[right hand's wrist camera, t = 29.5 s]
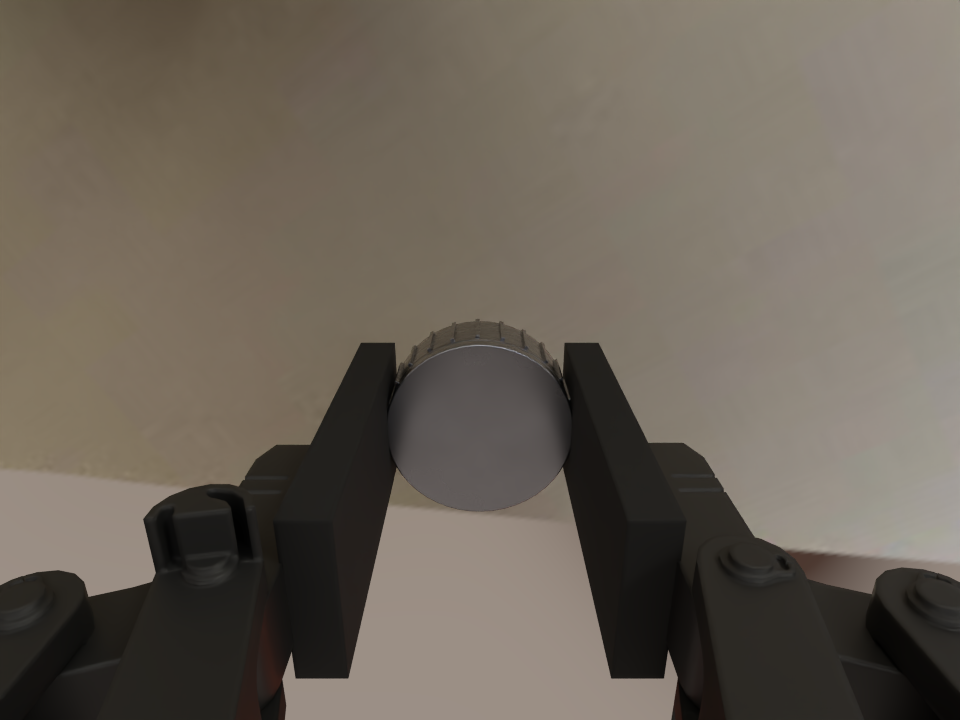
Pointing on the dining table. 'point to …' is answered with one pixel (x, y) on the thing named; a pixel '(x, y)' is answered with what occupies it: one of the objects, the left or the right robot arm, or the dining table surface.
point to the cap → (479, 417)
